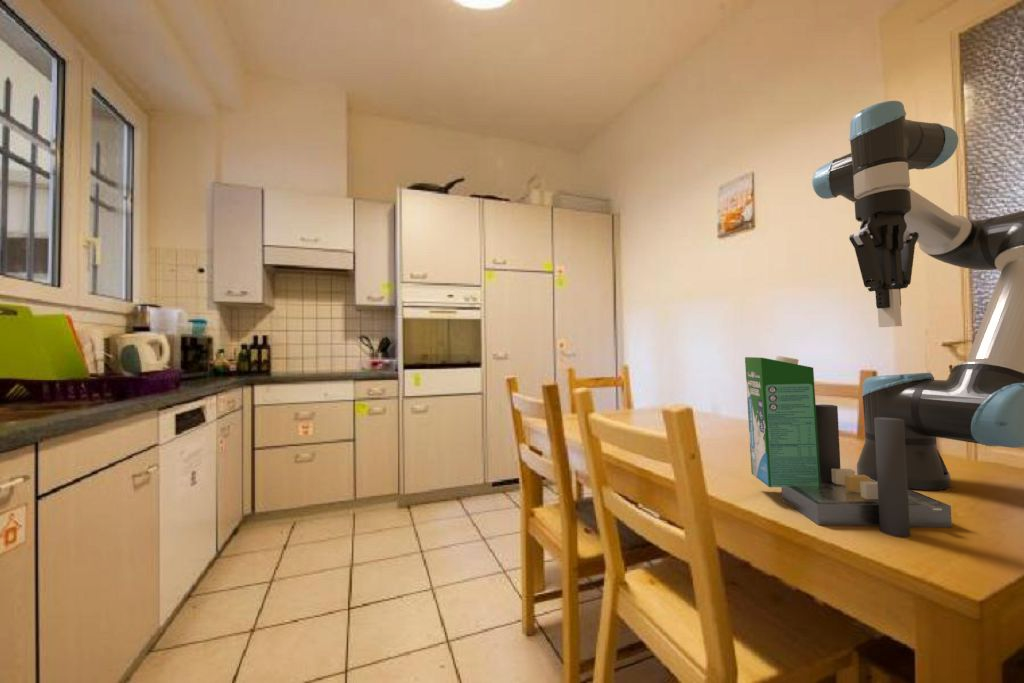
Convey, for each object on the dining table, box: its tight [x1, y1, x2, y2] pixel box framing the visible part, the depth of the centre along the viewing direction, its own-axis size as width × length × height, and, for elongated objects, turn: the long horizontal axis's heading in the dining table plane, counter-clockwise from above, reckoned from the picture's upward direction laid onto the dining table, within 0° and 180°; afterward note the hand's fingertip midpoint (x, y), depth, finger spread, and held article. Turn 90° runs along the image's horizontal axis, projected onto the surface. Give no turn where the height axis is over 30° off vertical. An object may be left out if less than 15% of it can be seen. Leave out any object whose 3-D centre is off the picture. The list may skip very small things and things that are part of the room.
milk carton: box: [744, 355, 821, 488], centre depth 85 cm, size 9×9×25 cm
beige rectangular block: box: [860, 482, 878, 499], centre depth 72 cm, size 3×1×2 cm, turn 83°
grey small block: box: [831, 468, 856, 484], centre depth 80 cm, size 3×1×2 cm, turn 83°
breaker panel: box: [781, 479, 953, 529], centre depth 76 cm, size 20×16×4 cm
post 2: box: [874, 417, 911, 538], centre depth 68 cm, size 4×4×18 cm
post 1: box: [816, 404, 842, 482], centre depth 84 cm, size 4×4×18 cm
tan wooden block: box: [845, 474, 870, 491], centre depth 76 cm, size 3×1×2 cm, turn 83°
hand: (890, 326), depth 75 cm, fingers closed
